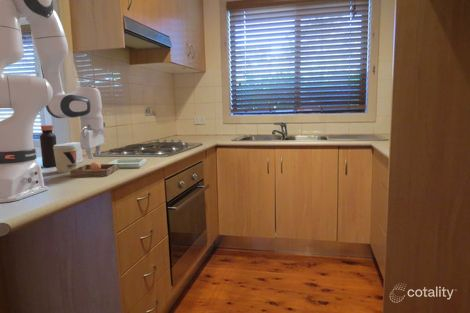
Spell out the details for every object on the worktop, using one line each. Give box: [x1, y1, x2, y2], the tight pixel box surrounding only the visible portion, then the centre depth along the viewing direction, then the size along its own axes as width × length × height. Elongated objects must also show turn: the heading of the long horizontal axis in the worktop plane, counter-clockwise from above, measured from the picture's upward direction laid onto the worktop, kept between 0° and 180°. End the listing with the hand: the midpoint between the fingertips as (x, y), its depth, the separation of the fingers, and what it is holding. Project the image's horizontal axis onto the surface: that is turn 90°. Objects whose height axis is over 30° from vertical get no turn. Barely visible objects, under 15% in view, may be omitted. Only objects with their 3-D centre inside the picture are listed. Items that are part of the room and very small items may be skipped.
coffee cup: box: [53, 143, 77, 174], centre depth 148 cm, size 9×9×12 cm
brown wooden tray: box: [69, 163, 119, 178], centre depth 144 cm, size 16×15×2 cm
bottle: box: [39, 124, 57, 168], centre depth 161 cm, size 7×7×20 cm
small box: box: [64, 141, 84, 164], centre depth 171 cm, size 8×6×10 cm
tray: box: [107, 158, 147, 170], centre depth 161 cm, size 15×15×2 cm
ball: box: [89, 161, 101, 170], centre depth 143 cm, size 4×4×4 cm
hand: (94, 156), depth 144 cm, fingers open, 8 cm apart
